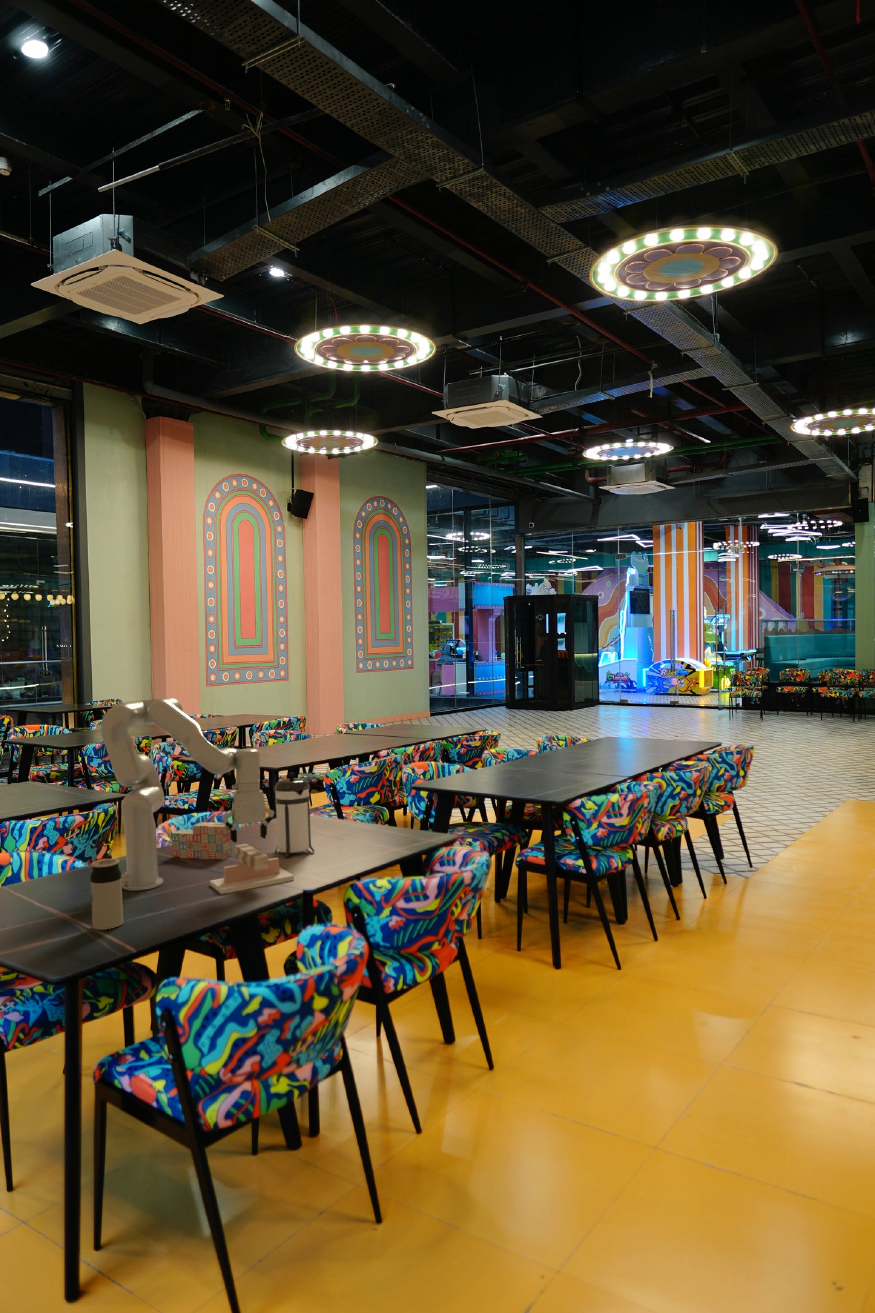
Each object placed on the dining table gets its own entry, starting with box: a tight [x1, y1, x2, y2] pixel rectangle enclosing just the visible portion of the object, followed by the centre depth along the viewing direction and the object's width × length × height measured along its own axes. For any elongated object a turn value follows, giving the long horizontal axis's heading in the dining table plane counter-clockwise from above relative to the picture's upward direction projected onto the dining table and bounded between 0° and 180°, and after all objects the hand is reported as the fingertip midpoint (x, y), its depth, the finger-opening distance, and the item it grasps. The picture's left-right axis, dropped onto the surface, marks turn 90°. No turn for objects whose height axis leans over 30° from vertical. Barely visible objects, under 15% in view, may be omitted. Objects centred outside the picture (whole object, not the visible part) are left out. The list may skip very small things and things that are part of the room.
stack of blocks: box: [170, 821, 233, 860], centre depth 306 cm, size 21×6×12 cm, turn 74°
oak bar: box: [234, 843, 269, 871], centre depth 270 cm, size 20×4×4 cm, turn 32°
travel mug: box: [89, 858, 124, 931], centre depth 233 cm, size 8×8×18 cm
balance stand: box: [209, 857, 295, 895], centre depth 270 cm, size 24×12×6 cm, turn 122°
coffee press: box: [273, 772, 315, 859], centre depth 307 cm, size 17×16×30 cm
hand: (248, 839), depth 270 cm, fingers open, 9 cm apart
